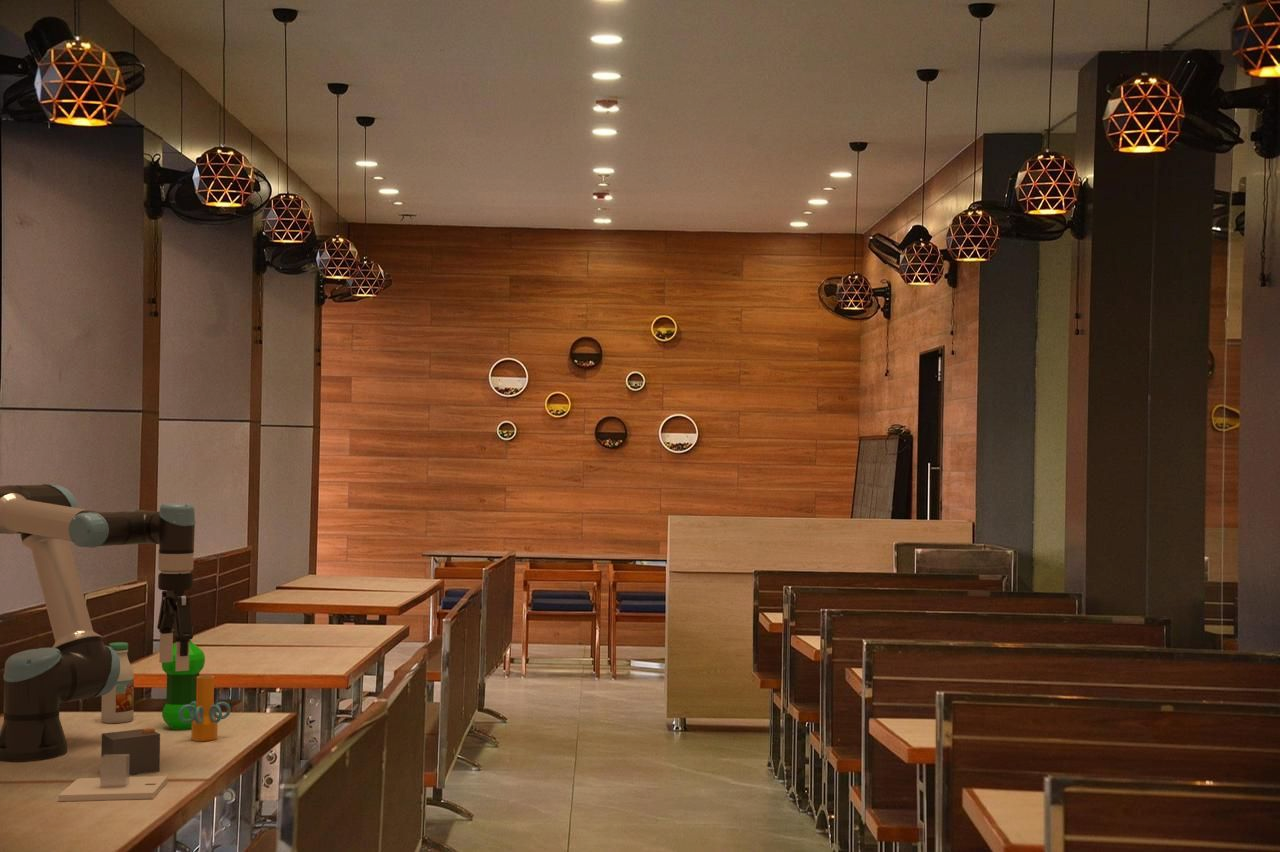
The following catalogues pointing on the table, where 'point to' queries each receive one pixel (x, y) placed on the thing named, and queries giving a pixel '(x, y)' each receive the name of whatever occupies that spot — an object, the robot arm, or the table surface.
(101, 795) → the board
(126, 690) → the milk bottle
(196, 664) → the plastic bottle
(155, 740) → the dark grey block
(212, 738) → the orange tube with rings
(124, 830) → the table surface
